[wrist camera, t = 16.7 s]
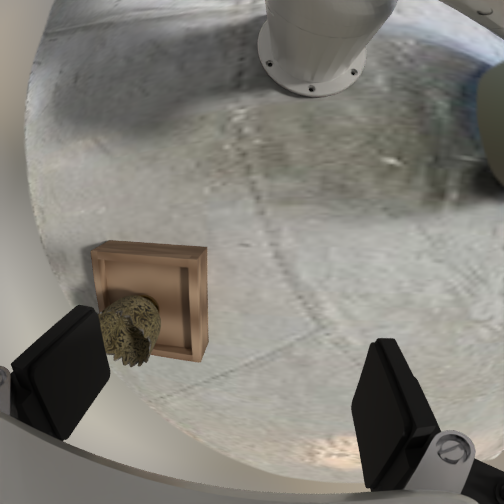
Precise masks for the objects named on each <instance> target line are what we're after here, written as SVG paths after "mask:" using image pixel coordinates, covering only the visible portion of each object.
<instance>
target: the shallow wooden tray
mask: <svg viewBox="0 0 504 504" xmlns="http://www.w3.org/2000/svg"><path fill="white" fill-rule="evenodd" d="M91 259H92V267H93V274H94V282H95V288H96V295H97V301H98V307H99V312H102V311H103V310H104V309H106V308H107V307H108V306H110V305H111V304H112V303H114V302H115V301H117V300H119V299H120V298H123V297H125V296H129V295H136V296H139V295H149V296H151V297H153V298H154V299H155V300H156V301H157V303H158V305H159V308H160V312H159V315H160V318H161V329H160V333H159V336H158V339H157V341H156V343H155V346H154V348H153V350H152V352H151V354H150V355H155V356H161V357H167V358H173V359H180V360H186V361H193V362H201V360H202V357H203V355H204V352H205V350H206V347H207V345H208V342H209V340H208V295H207V247H200V246H185V245H171V244H157V243H142V242H128V241H113V240H109V241H107V242H106V243H104V244H102V245H100V246H98V247H97V248H95V249H93V250H91Z"/></svg>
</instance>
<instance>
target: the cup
mask: <svg viewBox="0 0 504 504" xmlns="http://www.w3.org/2000/svg"><path fill="white" fill-rule="evenodd" d="M159 312H160V308H159V305H158V303H157V301H156V300H155V299H154V298H153V297H151V296H149V295H139V296H136V295H129V296H125V297H123V298H120V299H119V300H117V301H115V302H114V303H112V304H111V305H110V306H108V307H107V308H106V309H104V310H103V311H102V312H100V313H99V314H98V316H99V321H100V326H101V332H102V337H103V341H104V346H105V351H106V355H114V357H113V358H114V361H117V360H119V359H120V358H122V362H123V365H127V364H129V365H130V367H133V366H135V365H136V364H137V363H138V366H141V365H142V363H143V362H145V363H147V361H148V359H149V357H150V354H151V352H152V350H153V348H154V346H155V343H156V341H157V339H158V336H159V333H160V329H161V318H160V315H159Z"/></svg>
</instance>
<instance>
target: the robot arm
mask: <svg viewBox="0 0 504 504" xmlns="http://www.w3.org/2000/svg"><path fill="white" fill-rule="evenodd" d="M397 1H398V0H265V4H266V12H267V20H266V21H265V23H264V24H263V25H262V28H261V30H260V32H259V36H258V41H257V45H258V54H259V58H260V61H261V63H262V66H263V67H264V69H265V71H266V72H267V74H268V75H269V76H270V77H271V78H272V79H273V80H274V81H275V82H276V83H278V84H279V85H280V86H282V87H283V88H285V89H287V90H289V91H291V92H293V93H296V94H299V95H303V96H309V97H325V96H330V95H334V94H337V93H339V92H342V91H344V90H345V89H347V88H348V87H350V86H351V85H352V84H353V83H354V82H355V81H356V80H357V79H358V78H359V77H360V75H361V73H362V71H363V69H364V67H365V63H366V58H367V53H366V45H367V44H368V43H369V41H370V40H371V39H372V38H373V36H374V35H375V34H376V33H377V32H378V30H379V29H380V28H381V27H382V25H383V24H384V23H385V21H386V20H387V19H388V17H389V16H390V15H391V14H392V12H393V10H394V8H395V7H396V4H397ZM439 1H441V2H443V3H445V4H447V5H449V6H450V7H452V8H454V9H456V10H457V11H459V12H461V13H463V14H464V15H466V16H467V17H469V18H471V19H472V20H474V21H476V22H477V23H479V24H480V25H482V26H484V27H485V28H487V29H488V30H490V31H491V32H493V33H494V34H496V35H497V36H499V37H500V38H502V39H503V40H504V0H439ZM268 64H272V66H271V67H269V66H268ZM351 72H353V73H354V75H352V74H351ZM310 88H311V89H313V92H310V91H309V89H310ZM11 366H12V369H13V372H12V373H11V374H10V372H9V370H8V369H7V368H5V367H3V366H0V504H504V472H503V471H501V470H499V469H497V468H494V467H492V466H490V465H487V464H485V463H483V462H481V461H479V460H477V459H475V452H476V451H475V446H474V444H473V442H472V441H471V439H470V438H469V437H467V436H466V435H465V434H463V433H461V432H458V431H454V430H447V431H443V432H441V430H440V428H439V426H438V423H437V421H436V419H435V417H434V414H433V412H432V410H431V408H430V406H429V404H428V401H427V399H426V397H425V395H424V393H423V391H422V389H421V387H420V385H419V382H418V380H417V379H416V378H415V377H414V376H413V374H412V372H411V370H410V368H409V366H408V364H407V362H406V360H405V358H404V356H403V354H402V352H401V350H400V348H399V346H398V344H397V342H396V340H395V339H393V338H378V339H377V340H376V342H372V343H371V344H370V347H369V350H368V354H367V357H366V360H365V364H364V367H363V370H362V373H361V376H360V380H359V383H358V386H357V389H356V392H355V395H354V397H353V400H352V406H351V410H352V416H353V421H354V426H355V431H356V436H357V442H358V447H359V452H360V458H361V464H362V470H363V476H364V482H365V486H366V488H370V489H371V492H361V493H341V494H294V493H273V492H260V491H250V490H241V489H233V488H224V487H219V486H212V485H206V484H201V483H195V482H190V481H185V480H180V479H176V478H172V477H167V476H163V475H159V474H155V473H151V472H147V471H144V470H141V469H137V468H134V467H131V466H127V465H124V464H121V463H118V462H115V461H112V460H109V459H106V458H103V457H100V456H97V455H95V454H92V453H89V452H87V451H84V450H82V449H79V448H77V447H74V446H72V445H70V444H67V443H65V442H63V440H66V439H68V438H69V436H70V435H71V433H72V432H73V430H74V429H75V427H76V426H77V425H78V423H79V421H80V420H81V419H82V417H83V416H84V414H85V413H86V411H87V410H88V408H89V407H90V406H91V404H92V403H93V401H94V400H95V398H96V397H97V395H98V394H99V393H100V391H101V390H102V388H103V387H104V386H105V384H106V383H107V381H108V380H109V378H110V368H109V364H108V359H107V355H106V351H105V346H104V341H103V337H102V332H101V326H100V321H99V316H98V314H97V313H96V312H95V310H94V308H92V307H88V306H83V305H78V306H76V307H75V308H74V309H72V310H71V311H70V312H69V313H68V314H66V315H65V316H64V317H63V318H62V319H61V320H60V321H58V322H57V323H56V324H55V325H54V326H52V327H51V328H50V329H49V330H48V331H47V332H46V333H44V334H43V335H42V336H41V337H40V338H39V339H38V340H36V341H35V342H34V343H33V344H32V345H31V346H30V347H29V348H28V349H26V350H25V351H24V352H23V353H22V354H21V355H20V356H19V357H18V358H17V359H15V360H14V362H12V363H11Z"/></svg>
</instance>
